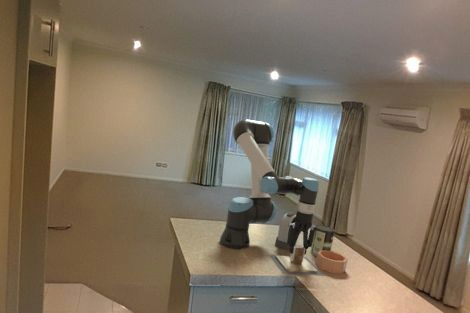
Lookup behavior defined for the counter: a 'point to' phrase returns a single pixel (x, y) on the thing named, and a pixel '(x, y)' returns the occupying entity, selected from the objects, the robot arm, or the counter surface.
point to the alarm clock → (285, 230)
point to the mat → (295, 272)
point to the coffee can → (322, 239)
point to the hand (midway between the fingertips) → (296, 260)
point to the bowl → (331, 261)
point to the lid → (296, 262)
